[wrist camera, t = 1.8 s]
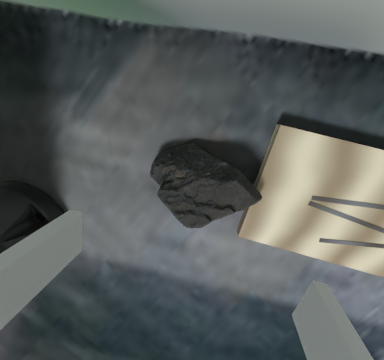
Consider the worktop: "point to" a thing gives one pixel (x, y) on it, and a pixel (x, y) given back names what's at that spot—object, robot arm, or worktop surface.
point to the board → (320, 200)
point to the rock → (200, 185)
